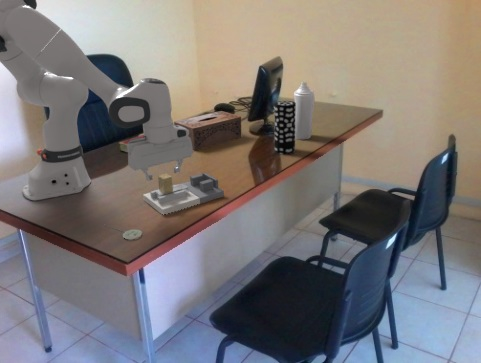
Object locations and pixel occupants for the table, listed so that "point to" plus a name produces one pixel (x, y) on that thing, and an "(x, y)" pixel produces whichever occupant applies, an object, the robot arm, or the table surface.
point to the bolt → (168, 186)
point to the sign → (130, 233)
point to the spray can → (303, 111)
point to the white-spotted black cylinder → (285, 127)
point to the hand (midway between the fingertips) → (163, 176)
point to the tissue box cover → (212, 129)
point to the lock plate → (186, 194)
